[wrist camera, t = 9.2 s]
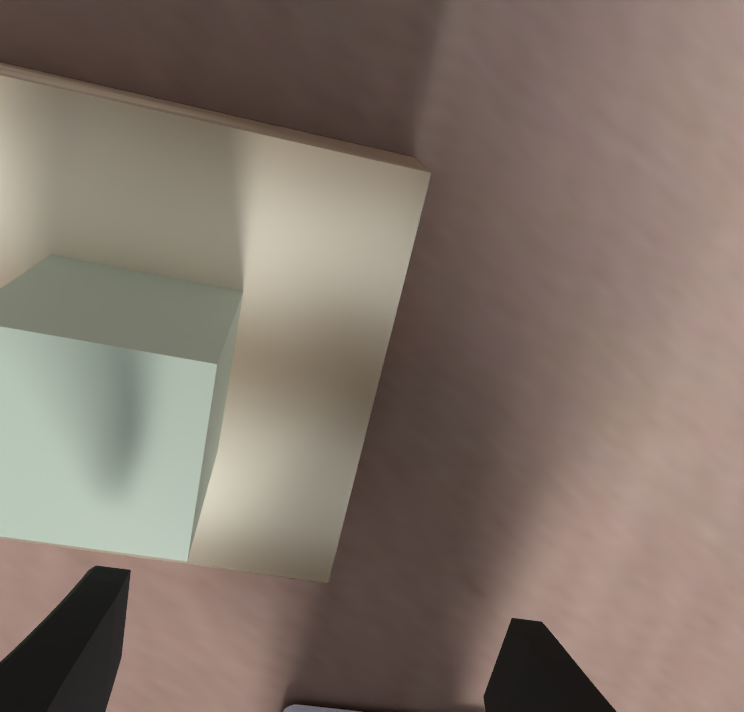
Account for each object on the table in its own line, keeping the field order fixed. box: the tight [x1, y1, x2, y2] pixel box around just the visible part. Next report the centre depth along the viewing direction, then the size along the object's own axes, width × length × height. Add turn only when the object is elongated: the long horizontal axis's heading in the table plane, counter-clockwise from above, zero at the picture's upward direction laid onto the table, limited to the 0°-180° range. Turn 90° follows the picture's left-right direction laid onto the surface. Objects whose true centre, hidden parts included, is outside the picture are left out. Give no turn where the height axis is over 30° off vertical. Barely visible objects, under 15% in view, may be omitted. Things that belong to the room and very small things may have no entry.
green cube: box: [0, 255, 243, 562], centre depth 15 cm, size 4×4×4 cm
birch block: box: [0, 62, 431, 583], centre depth 19 cm, size 12×12×3 cm
